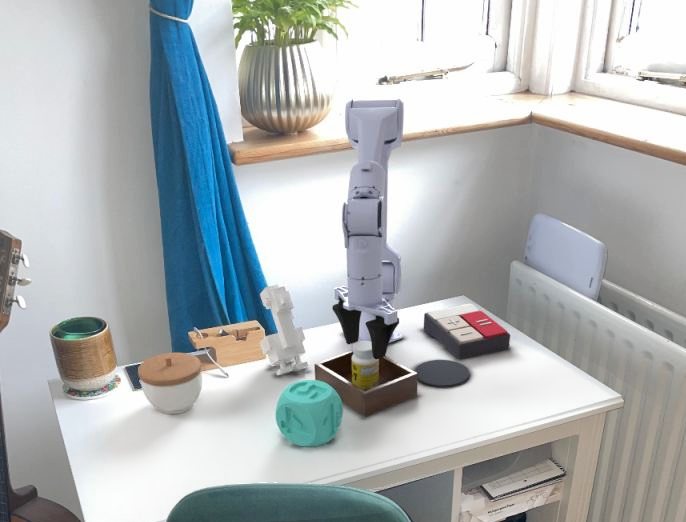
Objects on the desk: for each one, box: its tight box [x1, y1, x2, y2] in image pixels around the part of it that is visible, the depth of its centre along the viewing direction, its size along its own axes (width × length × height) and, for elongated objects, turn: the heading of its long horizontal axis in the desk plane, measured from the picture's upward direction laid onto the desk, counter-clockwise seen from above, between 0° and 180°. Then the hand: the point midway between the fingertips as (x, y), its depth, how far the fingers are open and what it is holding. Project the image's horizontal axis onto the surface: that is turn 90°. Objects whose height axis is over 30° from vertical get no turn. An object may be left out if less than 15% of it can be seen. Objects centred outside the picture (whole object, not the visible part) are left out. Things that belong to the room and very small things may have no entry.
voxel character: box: [259, 283, 309, 376], centre depth 147 cm, size 7×12×15 cm
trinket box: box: [137, 352, 203, 415], centre depth 138 cm, size 11×11×9 cm
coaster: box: [413, 359, 471, 388], centre depth 146 cm, size 10×10×1 cm
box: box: [314, 349, 419, 418], centre depth 141 cm, size 15×12×4 cm
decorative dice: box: [275, 379, 344, 448], centre depth 128 cm, size 8×8×8 cm
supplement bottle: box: [352, 341, 379, 391], centre depth 139 cm, size 5×5×8 cm
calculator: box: [423, 303, 511, 360], centre depth 157 cm, size 11×4×15 cm
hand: (365, 349), depth 138 cm, fingers open, 7 cm apart
